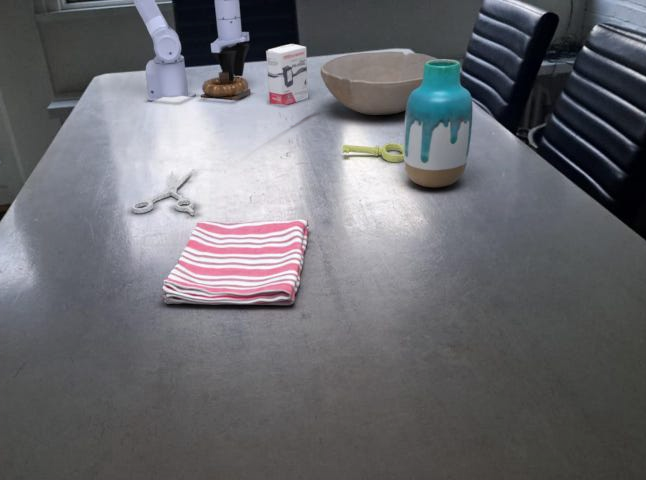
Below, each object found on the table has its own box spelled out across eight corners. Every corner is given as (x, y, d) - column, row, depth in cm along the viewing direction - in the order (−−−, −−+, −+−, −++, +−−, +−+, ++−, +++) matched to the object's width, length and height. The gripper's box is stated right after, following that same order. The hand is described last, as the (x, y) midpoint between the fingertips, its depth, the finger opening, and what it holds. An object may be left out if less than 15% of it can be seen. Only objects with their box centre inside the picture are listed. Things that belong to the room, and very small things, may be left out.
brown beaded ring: (194, 95, 167) (192, 84, 165) (219, 84, 175) (217, 74, 173) (233, 99, 162) (232, 88, 161) (256, 87, 170) (256, 76, 169)
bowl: (463, 105, 153) (467, 57, 147) (398, 137, 137) (400, 84, 131) (366, 90, 167) (366, 46, 161) (297, 118, 151) (295, 70, 145)
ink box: (283, 106, 159) (280, 52, 152) (268, 103, 162) (265, 49, 156) (309, 98, 164) (307, 45, 157) (294, 95, 167) (292, 43, 160)
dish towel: (160, 309, 86) (155, 284, 84) (200, 230, 105) (197, 208, 103) (295, 311, 84) (294, 286, 82) (311, 230, 103) (310, 208, 101)
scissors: (128, 213, 109) (154, 168, 126) (128, 217, 110) (154, 172, 126) (193, 211, 109) (211, 166, 125) (194, 216, 109) (212, 171, 125)
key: (339, 155, 129) (339, 144, 128) (401, 148, 131) (401, 137, 130) (349, 168, 123) (349, 156, 122) (414, 160, 125) (415, 149, 124)
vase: (426, 168, 121) (434, 52, 110) (478, 182, 115) (492, 60, 104) (388, 186, 115) (392, 65, 104) (441, 201, 109) (451, 74, 98)
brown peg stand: (200, 100, 168) (197, 75, 165) (220, 91, 174) (217, 67, 171) (232, 103, 164) (229, 78, 161) (250, 93, 171) (248, 69, 167)
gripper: (226, 23, 156) (232, 86, 164) (257, 12, 166) (262, 72, 174) (200, 22, 159) (207, 84, 166) (233, 12, 169) (238, 70, 177)
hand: (233, 77), depth 170 cm, fingers open, 4 cm apart
